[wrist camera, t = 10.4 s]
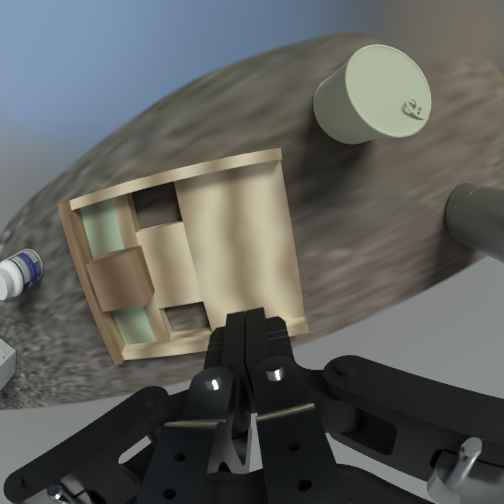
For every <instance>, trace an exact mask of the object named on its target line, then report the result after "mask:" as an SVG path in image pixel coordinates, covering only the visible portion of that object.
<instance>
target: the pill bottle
mask: <svg viewBox="0 0 504 504" xmlns="http://www.w3.org/2000/svg"><path fill="white" fill-rule="evenodd" d="M42 275H43V264H42V261H41V258H40V257H39V255H38V254H37V253H36V252H35V251H33V250H31V249H25V250H23V251H21V252H19V253H17V254H15V255H13V256H11V257H9V258H7V259H6V260H4V261H2V262H1V263H0V300H4V299H6V298H8V297H9V296H12V297H15V296H18V295H19V294H21V293H22V292H23V291H25V290H26V289H28V288H29V287H30V286H32V285H33V284H34V283H36V282H37V281H39V280H40V279H41V277H42Z"/></svg>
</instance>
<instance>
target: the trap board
mask: <svg viewBox="0 0 504 504" xmlns="http://www.w3.org/2000/svg"><path fill="white" fill-rule="evenodd" d="M280 159H282V154H281V148H276V149H270V150H264V151H259V152H253V153H248V154H242V155H237V156H232V157H227V158H222V159H217V160H213V161H208V162H204V163H199V164H195V165H191V166H186V167H182V168H178V169H174V170H170V171H166V172H162V173H158V174H155V175H151V176H147V177H144V178H140V179H136V180H133V181H129V182H126V183H123V184H119V185H116V186H113V187H109V188H106V189H103V190H100V191H97V192H94V193H91V194H87V195H84V196H81V197H79V198H76V199H73V200H70V201H66V202H63V203H61V204H58V208H59V212H60V216H61V220H62V224H63V227H64V231H65V235H66V238H67V242H68V245H69V249H70V252H71V255H72V258H73V262H74V265H75V268H76V271H77V274H78V277H79V280H80V282H81V285H82V288H83V291H84V293H85V296H86V299H87V301H88V304H89V307H90V309H91V312H92V314H93V317H94V319H95V321H96V324H97V326H98V329H99V331H100V333H101V335H102V338H103V340H104V342H105V344H106V347H107V349H108V351H109V353H110V355H111V357H112V359H113V361H114V363H115V365H117V364H123V362H124V360H130V359H142V358H152V357H162V356H171V355H179V354H187V353H195V352H202V351H208V350H207V348H208V344H209V338H210V335H211V334H212V332H213V331H214V330H215V329H216V328H217V327H223V326H225V324H226V316H227V314H229V313H234V312H239V311H245V312H246V310H250V309H255V308H260V307H264V310H265V314H266V318H270V317H275V316H279V317H281V318H282V319H283V320H284V321H285V322H286V326H287V330H288V335H289V336H294V335H299V334H303V333H308V332H309V330H308V323H307V321H306V319H305V315H304V308H303V300H302V293H301V286H300V278H299V271H298V265H297V258H296V251H295V245H294V238H293V232H292V226H291V220H290V214H289V208H288V202H287V196H286V190H285V184H284V179H283V173H282V168H281V162H280ZM172 181H174V184H175V189H176V194H177V198H178V202H179V207H180V211H181V216H182V220H179V221H175V222H170V223H166V224H162V225H157V226H153V227H149V228H145V229H141V228H140V225H139V221H138V217H137V213H136V209H135V204H134V200H133V196H132V192H134V191H137V190H141V189H145V188H149V187H152V186H156V185H160V184H164V183H168V182H172ZM139 245H142V249H143V253H144V256H145V260H146V263H147V266H148V270H149V273H150V276H151V280H152V283H153V286H154V289H155V292H154V294H153V295H152V297H151V298H150V300H149V302H148V303H147V305H144V306H138V307H131V308H125V309H118V310H111V311H104V312H103V311H102V309H101V306H100V304H99V301H98V298H97V296H96V293H95V290H94V287H93V284H92V282H91V279H90V276H89V273H88V270H87V267H86V264H87V263H89V262H90V261H92V260H93V259H94V258H96V257H97V256H98V255H100V254H104V253H109V252H113V251H117V250H122V249H126V248H130V247H135V246H139ZM202 301H204V305H205V309H206V312H207V316H208V319H209V322H210V326H211V327H205V328H198V329H192V330H185V331H178V332H172V330H171V327H170V324H169V321H168V318H167V315H166V312H165V309H164V308H166V307H172V306H178V305H184V304H190V303H196V302H202Z"/></svg>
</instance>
